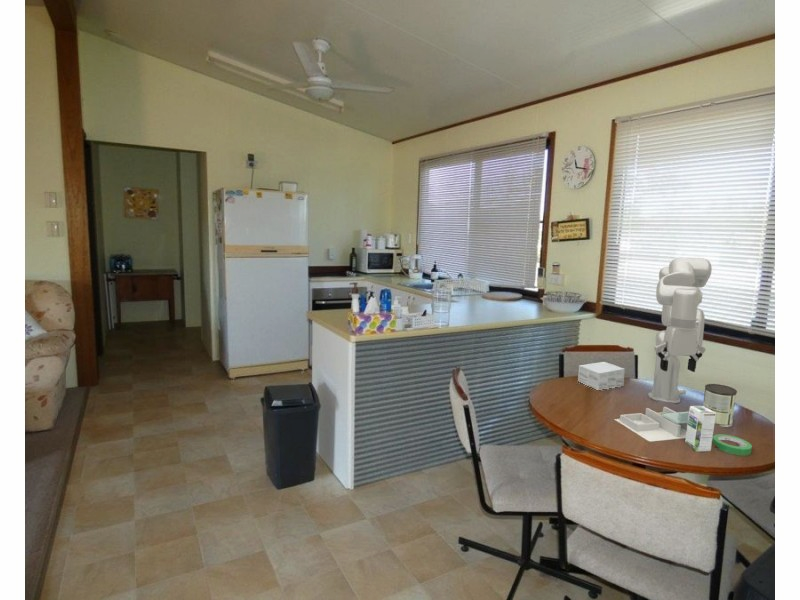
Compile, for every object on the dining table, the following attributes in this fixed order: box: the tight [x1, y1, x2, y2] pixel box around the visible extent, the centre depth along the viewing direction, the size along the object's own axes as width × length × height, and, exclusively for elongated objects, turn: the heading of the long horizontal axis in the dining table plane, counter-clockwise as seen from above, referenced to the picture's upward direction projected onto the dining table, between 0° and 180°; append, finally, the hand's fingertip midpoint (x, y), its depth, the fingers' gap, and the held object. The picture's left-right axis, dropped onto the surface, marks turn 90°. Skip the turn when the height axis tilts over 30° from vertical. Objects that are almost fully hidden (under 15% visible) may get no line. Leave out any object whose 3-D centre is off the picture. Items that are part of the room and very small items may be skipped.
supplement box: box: [577, 361, 626, 391], centre depth 219 cm, size 17×13×9 cm
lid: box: [662, 410, 689, 424], centre depth 166 cm, size 9×7×4 cm
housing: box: [613, 406, 688, 442], centre depth 170 cm, size 22×19×6 cm
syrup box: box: [685, 405, 716, 453], centre depth 155 cm, size 6×6×14 cm
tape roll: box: [712, 433, 753, 456], centre depth 157 cm, size 11×11×3 cm
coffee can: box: [702, 383, 738, 428], centre depth 177 cm, size 10×10×14 cm
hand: (677, 370), depth 159 cm, fingers open, 9 cm apart
